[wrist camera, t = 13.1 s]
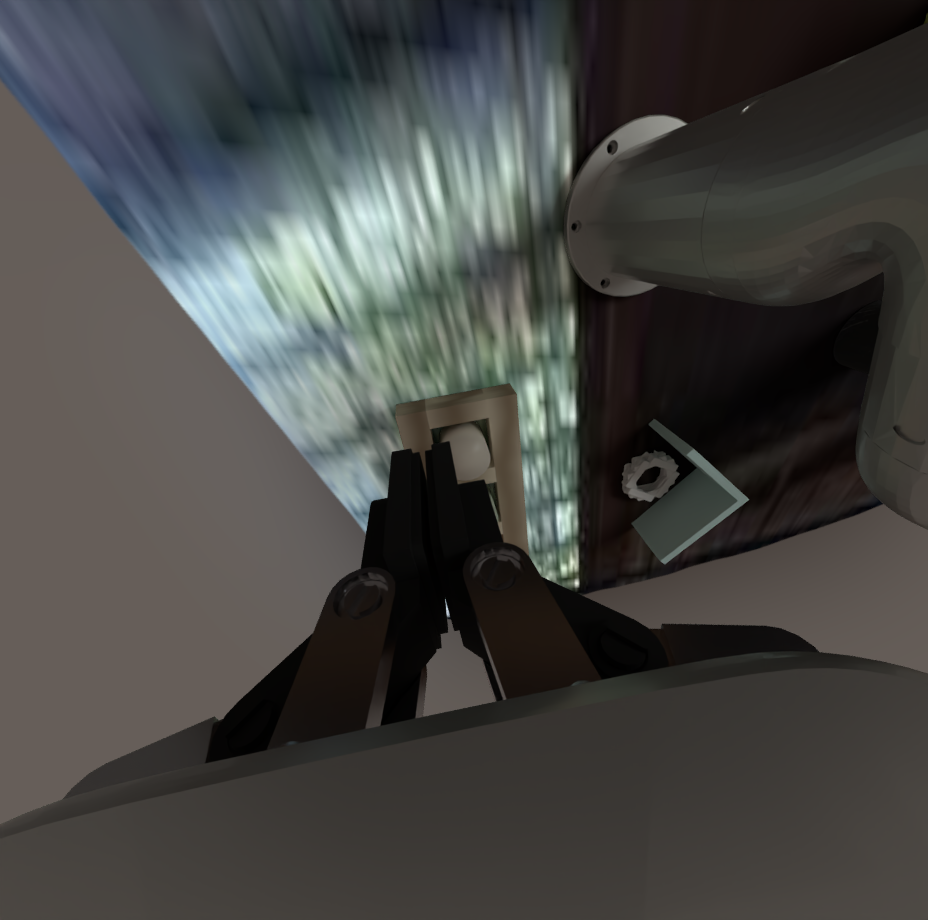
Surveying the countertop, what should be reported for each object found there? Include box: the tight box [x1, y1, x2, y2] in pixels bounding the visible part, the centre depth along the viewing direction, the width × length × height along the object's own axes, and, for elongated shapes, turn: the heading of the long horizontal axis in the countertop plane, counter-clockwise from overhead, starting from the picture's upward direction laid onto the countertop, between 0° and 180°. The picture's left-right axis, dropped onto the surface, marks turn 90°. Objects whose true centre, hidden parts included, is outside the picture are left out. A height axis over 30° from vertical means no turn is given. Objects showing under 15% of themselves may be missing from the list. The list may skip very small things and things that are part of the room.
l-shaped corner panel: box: [621, 419, 749, 564], centre depth 44 cm, size 12×12×8 cm
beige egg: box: [439, 421, 490, 481], centre depth 38 cm, size 5×5×5 cm
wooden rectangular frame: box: [395, 383, 529, 556], centre depth 44 cm, size 12×26×3 cm, turn 9°
